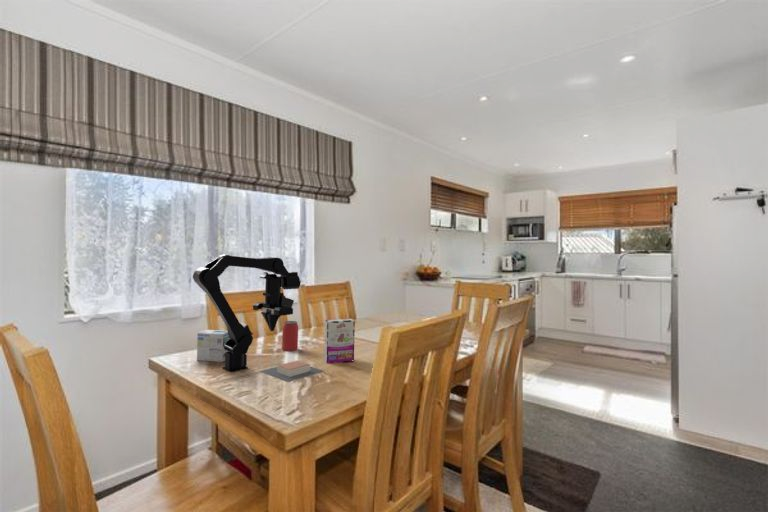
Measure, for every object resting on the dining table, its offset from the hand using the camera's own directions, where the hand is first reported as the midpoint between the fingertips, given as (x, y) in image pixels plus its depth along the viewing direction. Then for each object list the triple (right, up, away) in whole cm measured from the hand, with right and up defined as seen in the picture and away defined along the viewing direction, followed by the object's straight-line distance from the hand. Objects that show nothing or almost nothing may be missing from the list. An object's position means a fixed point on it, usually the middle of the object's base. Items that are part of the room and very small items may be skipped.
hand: (272, 330), depth 145 cm
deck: (+8, -11, -9) cm, 16 cm away
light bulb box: (-23, -12, +2) cm, 26 cm away
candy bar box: (+25, -13, +5) cm, 29 cm away
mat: (+10, -13, -11) cm, 19 cm away
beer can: (+2, -12, +19) cm, 23 cm away
